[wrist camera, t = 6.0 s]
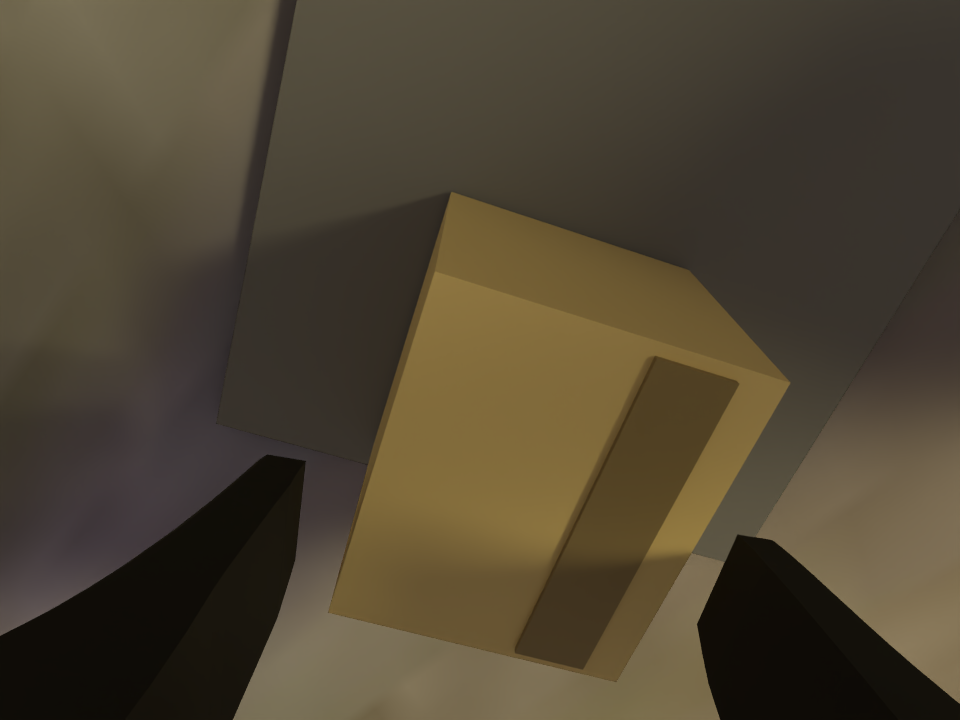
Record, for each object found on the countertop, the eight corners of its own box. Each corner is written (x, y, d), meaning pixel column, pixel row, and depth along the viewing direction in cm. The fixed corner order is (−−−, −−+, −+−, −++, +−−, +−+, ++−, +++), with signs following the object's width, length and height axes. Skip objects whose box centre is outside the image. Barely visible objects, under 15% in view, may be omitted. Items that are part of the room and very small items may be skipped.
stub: (689, 270, 14) (793, 386, 9) (578, 502, 16) (617, 687, 12) (451, 191, 13) (434, 274, 8) (373, 446, 16) (326, 617, 11)
